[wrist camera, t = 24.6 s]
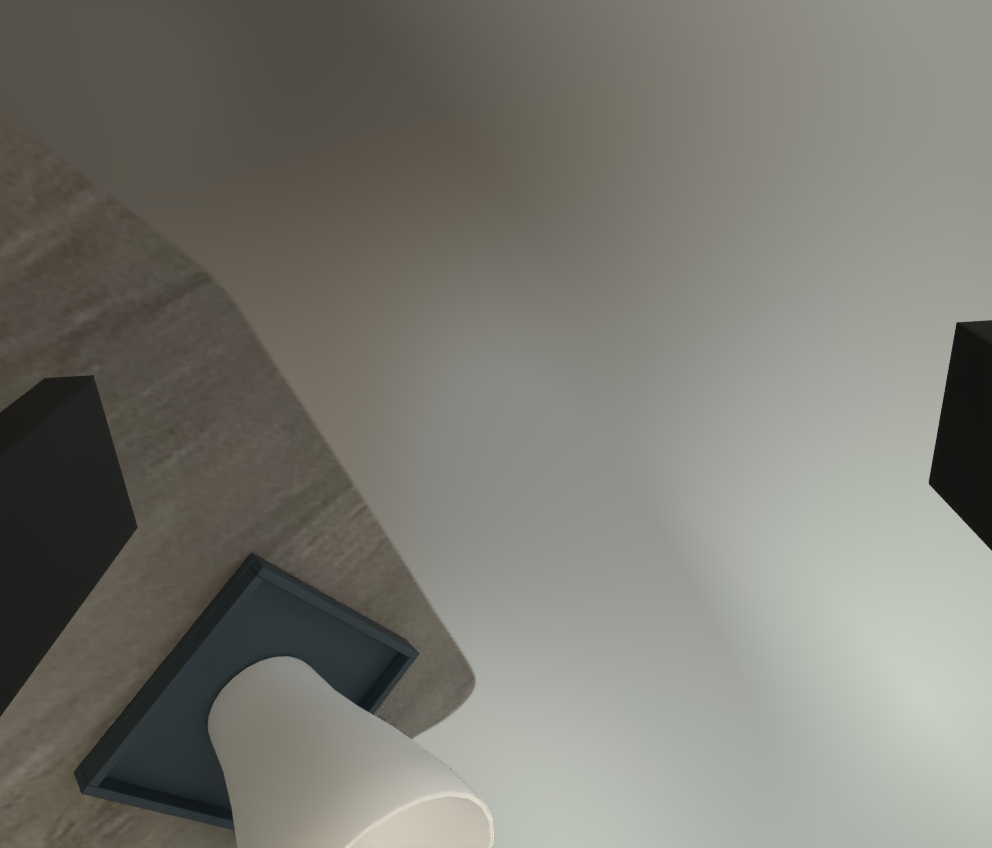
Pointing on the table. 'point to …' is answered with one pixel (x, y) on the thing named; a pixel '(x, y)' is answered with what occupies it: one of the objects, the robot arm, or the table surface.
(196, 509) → the table surface
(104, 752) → the frame
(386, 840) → the cup
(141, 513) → the table surface
